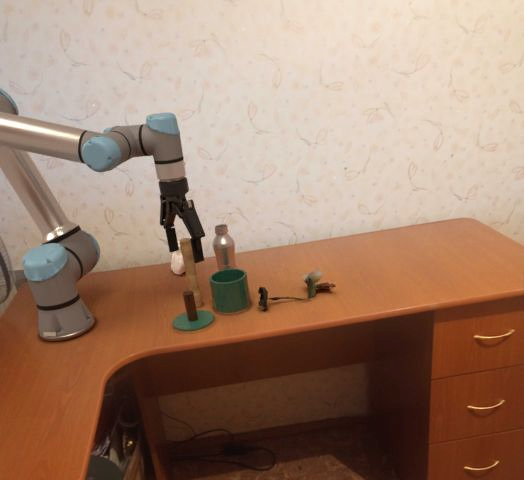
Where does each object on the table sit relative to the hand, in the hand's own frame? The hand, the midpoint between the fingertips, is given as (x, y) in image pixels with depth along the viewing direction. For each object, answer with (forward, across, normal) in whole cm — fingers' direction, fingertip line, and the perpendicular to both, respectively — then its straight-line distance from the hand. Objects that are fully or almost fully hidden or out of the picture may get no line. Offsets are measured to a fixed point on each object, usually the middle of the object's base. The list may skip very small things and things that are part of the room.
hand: (186, 256), depth 148 cm
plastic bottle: (+15, +1, -13) cm, 20 cm away
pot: (+15, -9, -7) cm, 19 cm away
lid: (+15, -10, +6) cm, 19 cm away
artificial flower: (+15, -20, -22) cm, 33 cm away
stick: (+15, 0, 0) cm, 15 cm away
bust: (+16, +28, -12) cm, 34 cm away
